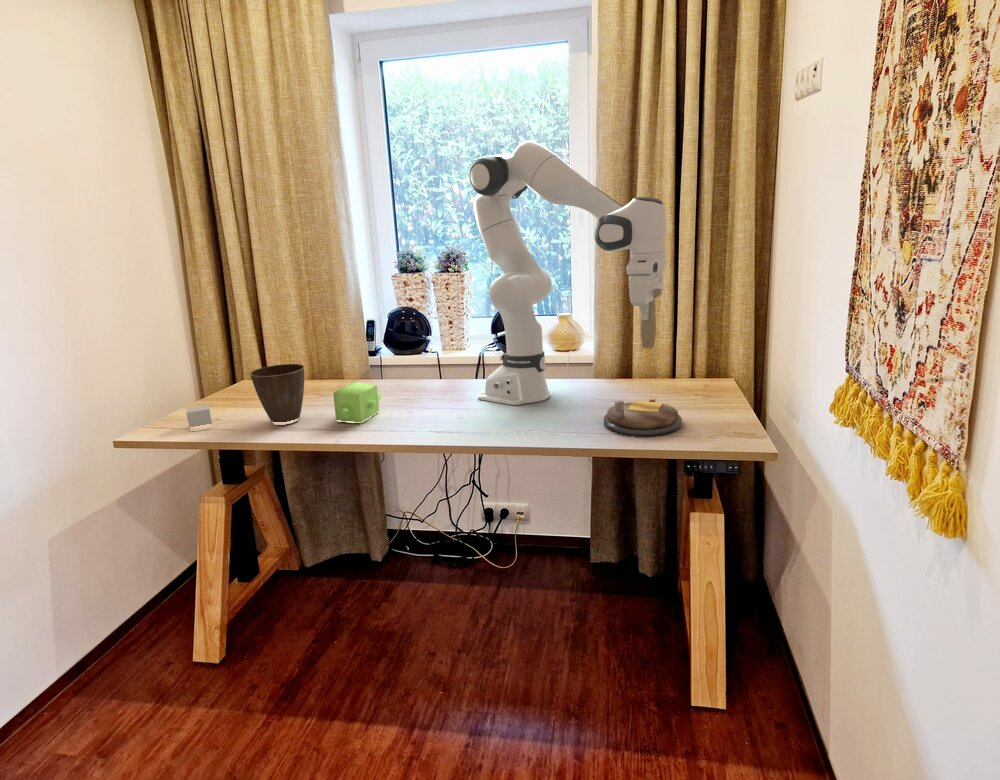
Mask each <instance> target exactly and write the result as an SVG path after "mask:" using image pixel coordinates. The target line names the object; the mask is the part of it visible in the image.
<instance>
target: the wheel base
mask: <svg viewBox="0 0 1000 780" xmlns="http://www.w3.org/2000/svg"><path fill="white" fill-rule="evenodd" d="M648 402H657V398H649V401H648ZM682 420H683V419H682V417H681V416H680V415H679V414H678V420H677V421H676V422H675V423H674V424H672V425H669V426H666V427H662V428H655V429H633V428H626V427H621V426H618V425H615V424H613V423H611V422H610V421H609V420H608V418H607V413H606V414H605V415H604V416H603V427H604V426H605V427H604V428H605V429H606V430H607V429H608V430H607V431H609V430H610V431H609V432H611V431H612V432H611V433H613V432H615V433H614V434H616V433H617V435H620V434H622V435H621V436H624V435H626V436H625V437H631V436H634V438H655V437H656V436H657V437H662V436H663V437H664V436H668V435H670V434H674V433H676V432H677V430H678V431H679V430H681V428H682V426H683V425H682V424H683V423H682ZM657 437H656V438H657Z"/></svg>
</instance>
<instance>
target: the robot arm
mask: <svg viewBox="0 0 1000 780" xmlns="http://www.w3.org/2000/svg"><path fill="white" fill-rule="evenodd" d="M468 182H469V184H470V185H469V186H470V187H471V189H472V191H474V192H475V193H477V195H476V196H475V198H474V199H473V204H472V205H473V212H474V213H473V214H474V216H475V221H476V224H477V228H478V231H479V233H480V237H481V239H482V241H483V244H484V247H485V249H486V252H487V254H488V257H489V259H490V260H491V261H492V262H493V263H495V264H496V265H497V266H498V267H499V268H500V270H501V271H502V272H503V274H502V275H500V276H498V277H496V278H495V279H494V280H493V281H492V283H491V284H490V286H489V289H488V297H489V299H490V302H491V304H492V305H493V306H494V308H496V309H497V310H498V312H499V314H500V317H501V320H502V324H503V326H504V333H505V344H506V345H505V346H506V347H505V348H506V352H505V353H503V354H502V355H500V356H499V358H500V359H499V361H502V363H501V365H500V366H498V367H497V369H495V370H494V371H493V372H492V373H490V374H489V375H488V376H487V378H486V381H485V386H484V389H483V390H482V391H480V392H479V394H478V399H479V400H483V401H487V402H494V403H499V404H504V405H511V406H518V405H523V404H531V403H537V402H543V401H545V400H547V399H548V398H550V397H551V394H550V390H549V388H548V384H547V379H546V374H545V370H546V358H545V351H544V350H543V349H544V348H543V327H542V325H541V324H540V323H539V321H538V320H537V317H536V316H535V312H534V308H533V307H534V305H537V304H539V303H541V302H542V301H543V300H545V299H546V298H547V297H548V296H549V295H550V293H551V291H552V286H553V285H552V284H553V283H552V279H551V277H550V275H549V274H548V272H546V271H545V270H544V269H542V268H541V267H540V265H539V264H538V262H537V261H536V260H535V258H534V256H532V255H533V254H531V252H530V250H529V249H528V247H527V245H526V243H525V241H524V239H523V237H522V234H521V231H520V228H519V226H518V224H517V221H516V218H515V216H514V213H513V210H512V208H511V201H512V199H513V200H515V199H519V197H520V196H521V195H522V194H523V192H525V191H526V190H527V189H528V188H529V189H530V190H531V191H532V192H533V193H535V194H536V195H537V196H539V197H540V198H541V199H543V200H545V201H547V202H549V203H551V204H555V205H561V206H568V207H569V206H570V207H575V208H578V209H582V210H584V211H586V212H588V213H590V215H592V216H594V217H595V218H597V221H596V223H595V226H594V227H593V237H594V238H593V239H594V241H595V243H596V245H597V246H598V247H599V248H600V249H602V250H603V251H607V252H618V251H619V252H620V251H625V250H629V262H628V264H627V265H626V274H627V275H629V277H628V290H629V291H628V293H629V302H630V304H631V306H635V307H636V306H637V307H639V310H640V320H641V319H642V320H648V319H649V308H648V307H649V302H651V301H653V300H654V297H653V290H655V289H661V295H659V296H658V297H656V298H655V304H656V302H657V299H658V298H659V297H661V296H663V294H664V271H666V269H667V248H666V244H665V238H666V235H667V218H666V217H667V216H666V215H667V214H666V208H665V204H664V202H663V201H662V200H660V199H658V198H656V197H649V196H648V197H645V196H636V197H634V198H632V200H631V201H629V202H628V203H627V204H626V205H624V206H623V205H622V204H620V203H619V202H618V201H616V200H615V199H613V198H612V197H611V196H609V195H608V194H606V193H605V192H604V191H602V190H601V189H599V188H598V187H596V186H595V185H594V184H592V183H591V182H589V181H588V180H587V179H586V178H585V177H583V175H581V174H579V173H578V172H577V171H576V170H575V169H574V168H573V167H572V166H570V165H569V164H568V163H567V162H566V161H564V160H563V159H562V158H561V157H560V156H558V155H557V154H556V153H554V152H553V151H551V150H550V149H549V148H547V147H546V146H543V145H541V144H540V143H537V142H535V141H533V140H526V141H523V142H521V143H519V144H518V145H517V147H516V148H515V149H514V151H513V153H498V154H493V155H484V156H481V157H479V158H477V159H475V160H474V161H472V163H471V165H470V166H469V170H468Z"/></svg>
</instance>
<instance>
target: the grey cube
mask: <svg viewBox="0 0 1000 780" xmlns="http://www.w3.org/2000/svg"><path fill="white" fill-rule="evenodd" d="M185 414H186V417H187V418H186V419H187V422H188V428H189V429H190V427H195V426H200V425H206V424H212V423H213V418H212V414H211V408H210V404H202V405H197V406H195V405H194V406H190V407H186V413H185ZM211 418H212V419H211Z"/></svg>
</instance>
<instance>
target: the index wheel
mask: <svg viewBox="0 0 1000 780" xmlns="http://www.w3.org/2000/svg"><path fill="white" fill-rule="evenodd" d="M606 414H607V418H608V420H609V421H610V422H611V423H613V424H615V425H618V426H621V427H626V428H633V429H655V428H662V427H666V426H669V425H672V424H674V423H675V422H676V421H677V420H678V415H679V412H678V410H677V409H676V408H675V407H674V406H670V405H668V404H665V403H663V402H658V401H656V402H649V401H639V400H638V401H637V400H632V401H631V402H625V401H624V400H614V405H613V406H611V407H609V409H607V412H606Z"/></svg>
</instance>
